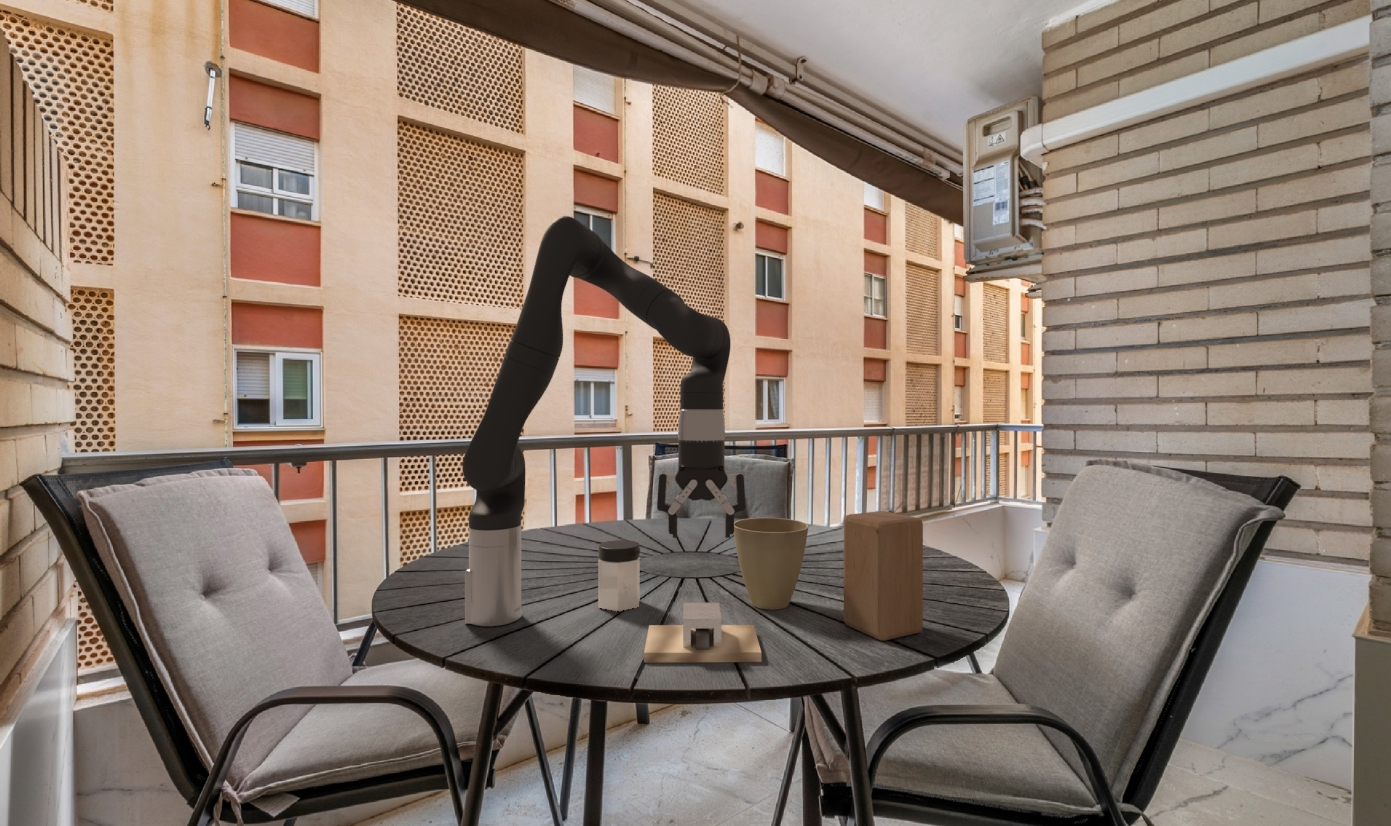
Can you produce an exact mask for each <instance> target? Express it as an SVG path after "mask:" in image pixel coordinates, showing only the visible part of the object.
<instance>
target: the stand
mask: <svg viewBox="0 0 1391 826" xmlns="http://www.w3.org/2000/svg"><path fill="white" fill-rule="evenodd" d="M643 663H645V664H646V663H647V664H648V663H649V664H651V663H762V649H761V647H760V643H759V639H758V636H757V632H756V628H755V625H754V624H721V647H715V648H714V644H713V635H712V628H691V648H683V624H677V625H676V624H666V625H665V624H664V625H663V624H662V625H661V624H659V625H658V624H655V625H654V624H653V625H652V624H651V625H650V624H649V625H648V631H647V635H646V639H645V645H644V650H643Z"/></svg>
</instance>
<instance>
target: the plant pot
mask: <svg viewBox="0 0 1391 826" xmlns="http://www.w3.org/2000/svg"><path fill="white" fill-rule="evenodd" d="M808 532H809V525H808V523H806V522H804V521H800V520H795V519H790V518H780V517H754V518H753V517H751V518H744V519H739V520H736V521H734V533H733V538H734V543H735V545H734V546H735V548H736V549H735V550H736V554H737V559H738V564H739V568H740V572H741V576H742V579H743V583H744V586H745V590H746V592H747V594H748V597H749V600H750V602H751V605H752V606H753V607H755V608H758V609H762V610H769V611H770V610H774V611H775V610H781V609H785V608H787V607H789V604H790V603H791V600H792V597H793V595H794V591H795V588H796V586H797V582H798V580H799V579H798V578H799V575H800V572H801V569H802V565H803V561H804V555H805V551H806V545H807V537H808Z"/></svg>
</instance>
